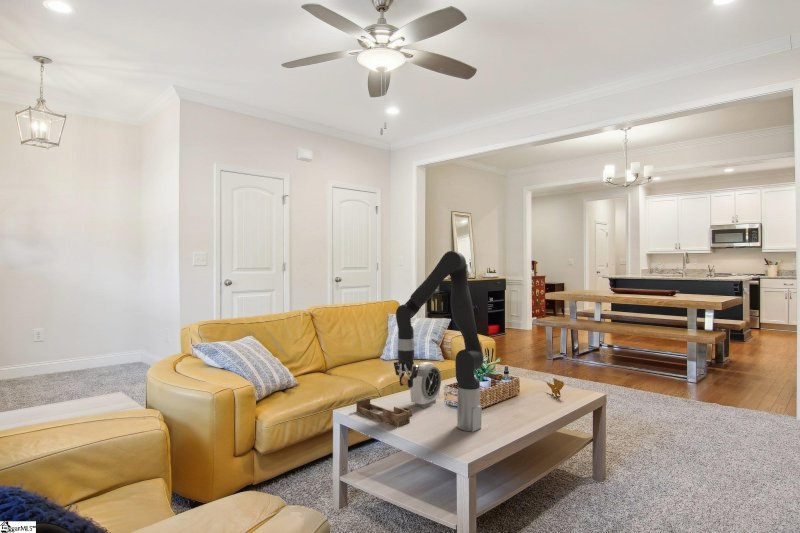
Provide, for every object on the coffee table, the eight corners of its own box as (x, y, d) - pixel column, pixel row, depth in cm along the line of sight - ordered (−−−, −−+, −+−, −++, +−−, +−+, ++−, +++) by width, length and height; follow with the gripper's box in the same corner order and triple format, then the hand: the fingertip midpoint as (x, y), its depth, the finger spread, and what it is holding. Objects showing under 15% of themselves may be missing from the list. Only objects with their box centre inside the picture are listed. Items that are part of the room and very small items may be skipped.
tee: (412, 415, 202) (412, 409, 202) (405, 418, 199) (405, 411, 199) (405, 413, 204) (405, 407, 204) (399, 415, 202) (399, 409, 202)
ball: (413, 385, 201) (413, 375, 201) (406, 387, 198) (406, 377, 198) (406, 383, 204) (405, 373, 204) (399, 385, 201) (399, 375, 201)
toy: (563, 394, 225) (559, 374, 229) (547, 399, 239) (543, 380, 243) (568, 394, 226) (563, 374, 230) (552, 399, 240) (547, 380, 244)
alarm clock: (422, 410, 209) (422, 367, 209) (407, 406, 214) (407, 364, 214) (442, 401, 223) (442, 360, 223) (428, 397, 228) (428, 358, 228)
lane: (409, 423, 193) (409, 411, 192) (397, 427, 187) (397, 415, 187) (368, 408, 212) (368, 397, 212) (356, 411, 206) (356, 401, 206)
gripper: (423, 349, 199) (423, 387, 199) (400, 345, 209) (400, 382, 209) (411, 351, 193) (412, 391, 193) (388, 347, 203) (389, 385, 203)
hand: (406, 386), depth 201 cm, fingers closed on ball, 4 cm apart
